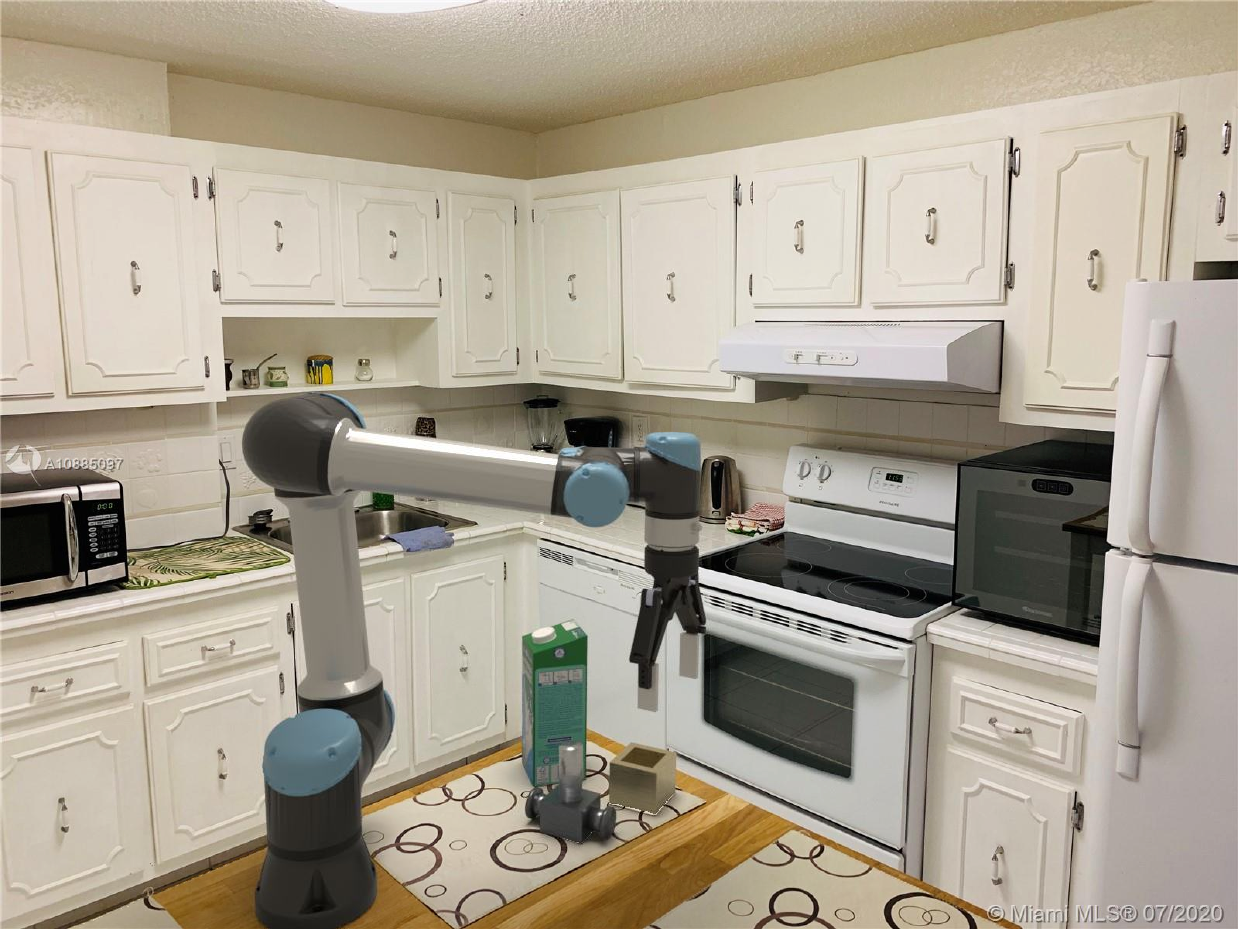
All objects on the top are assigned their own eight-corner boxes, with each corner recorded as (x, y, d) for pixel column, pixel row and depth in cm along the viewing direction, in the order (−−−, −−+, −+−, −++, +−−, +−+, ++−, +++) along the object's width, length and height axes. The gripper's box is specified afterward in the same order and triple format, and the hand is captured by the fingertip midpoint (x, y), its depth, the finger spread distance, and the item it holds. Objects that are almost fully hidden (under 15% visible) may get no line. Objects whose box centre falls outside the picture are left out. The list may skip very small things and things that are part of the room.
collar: (609, 804, 144) (609, 762, 143) (630, 782, 151) (631, 742, 150) (655, 816, 141) (656, 773, 140) (675, 793, 148) (676, 752, 147)
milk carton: (521, 762, 158) (521, 622, 154) (572, 756, 161) (573, 618, 157) (532, 787, 149) (533, 639, 146) (586, 780, 152) (588, 634, 149)
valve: (522, 827, 137) (522, 745, 135) (542, 809, 143) (543, 729, 141) (599, 849, 132) (601, 763, 130) (618, 829, 137) (619, 747, 135)
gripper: (656, 568, 114) (654, 731, 117) (730, 531, 135) (726, 669, 138) (604, 560, 117) (602, 718, 120) (684, 525, 139) (681, 660, 142)
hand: (669, 692), depth 129 cm, fingers open, 13 cm apart
